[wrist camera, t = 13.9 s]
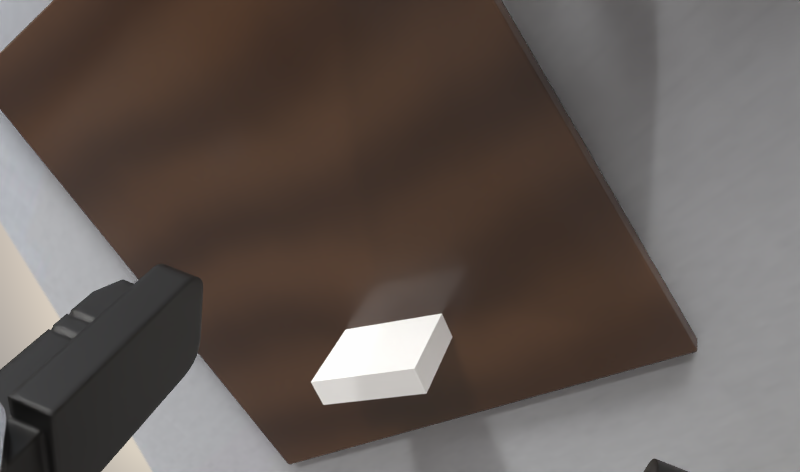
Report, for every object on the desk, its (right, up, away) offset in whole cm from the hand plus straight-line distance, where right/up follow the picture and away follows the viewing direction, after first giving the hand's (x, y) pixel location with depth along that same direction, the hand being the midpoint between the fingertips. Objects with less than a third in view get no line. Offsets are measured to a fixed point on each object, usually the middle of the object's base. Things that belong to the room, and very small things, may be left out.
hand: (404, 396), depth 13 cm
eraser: (0, -1, +20) cm, 20 cm away
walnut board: (-4, +4, +19) cm, 19 cm away
